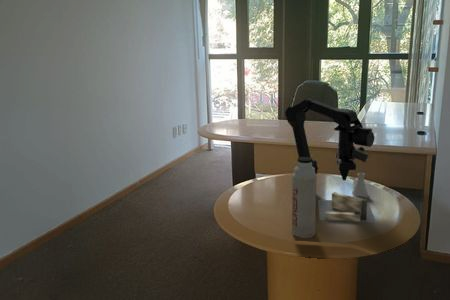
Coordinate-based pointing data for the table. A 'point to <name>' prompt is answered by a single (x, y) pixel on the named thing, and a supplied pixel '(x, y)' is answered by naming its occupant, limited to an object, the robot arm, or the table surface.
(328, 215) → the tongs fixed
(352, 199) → the beige flat block
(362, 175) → the flask
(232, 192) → the table surface
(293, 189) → the thermos bottle
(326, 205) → the slate board
